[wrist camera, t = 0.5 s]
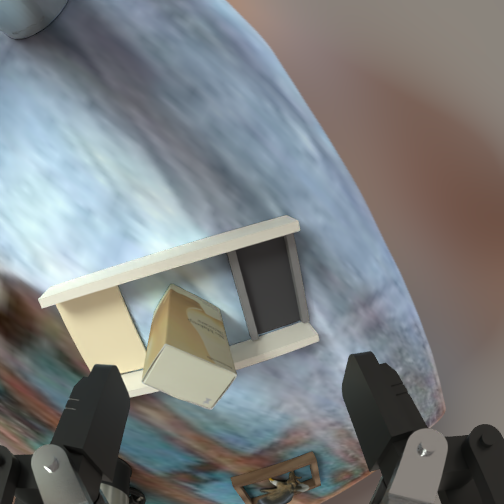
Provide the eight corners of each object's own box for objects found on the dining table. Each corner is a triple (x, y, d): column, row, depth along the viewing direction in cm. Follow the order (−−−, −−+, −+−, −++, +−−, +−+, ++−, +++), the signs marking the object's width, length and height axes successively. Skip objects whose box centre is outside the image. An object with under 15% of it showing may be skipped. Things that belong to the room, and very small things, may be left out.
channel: (50, 286, 28) (38, 299, 25) (286, 215, 32) (298, 220, 29) (101, 385, 32) (96, 403, 29) (307, 326, 36) (319, 341, 33)
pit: (225, 247, 31) (226, 250, 30) (288, 228, 32) (292, 230, 31) (250, 335, 35) (252, 341, 34) (305, 316, 36) (309, 321, 35)
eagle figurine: (271, 470, 42) (245, 500, 41) (302, 493, 38) (273, 522, 37) (288, 460, 48) (264, 489, 47) (317, 480, 44) (291, 508, 43)
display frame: (230, 477, 42) (232, 486, 40) (312, 451, 44) (316, 459, 42) (247, 501, 46) (249, 508, 44) (317, 478, 48) (320, 485, 46)
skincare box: (220, 307, 33) (243, 375, 22) (201, 337, 33) (214, 412, 22) (168, 280, 31) (164, 342, 19) (150, 312, 31) (139, 384, 20)
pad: (55, 299, 28) (54, 300, 28) (115, 280, 30) (115, 281, 29) (95, 376, 32) (95, 378, 31) (152, 363, 33) (152, 365, 33)
